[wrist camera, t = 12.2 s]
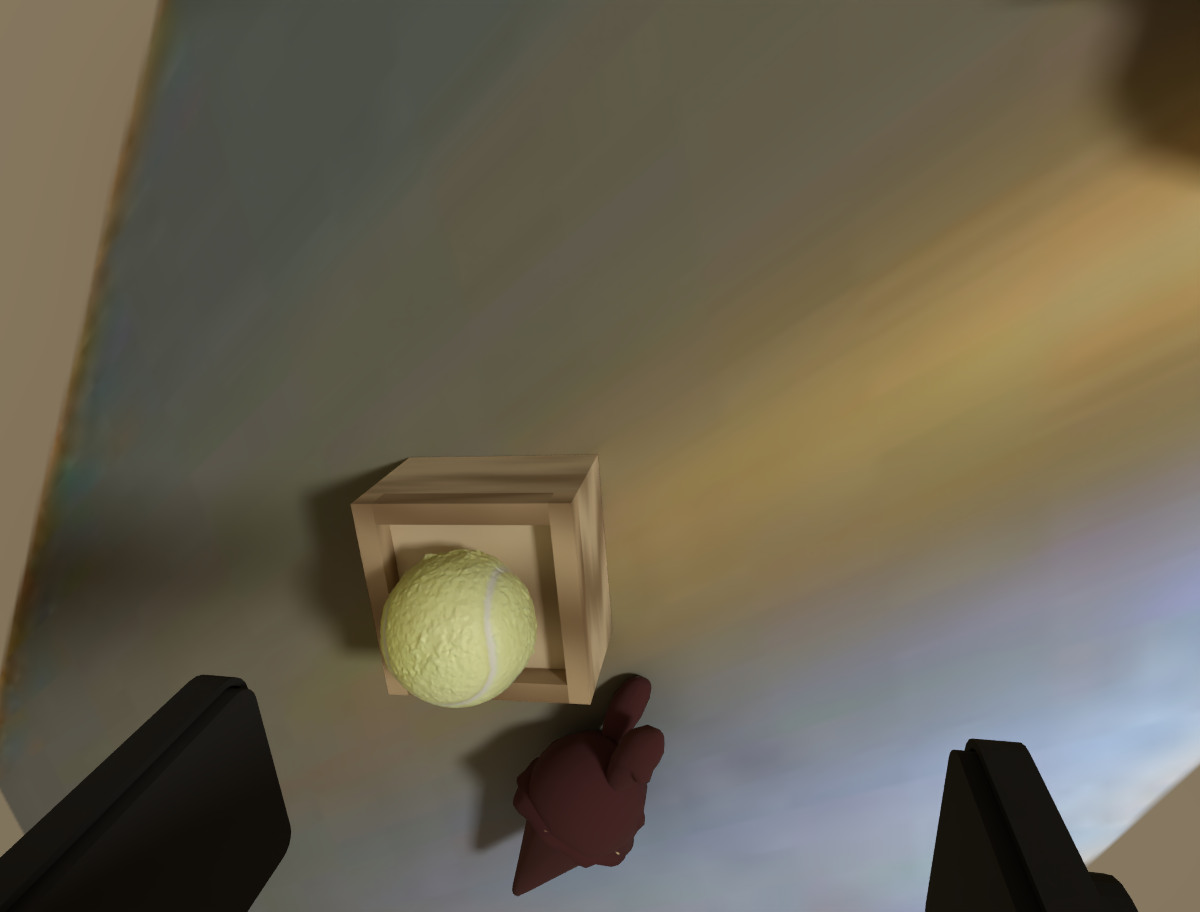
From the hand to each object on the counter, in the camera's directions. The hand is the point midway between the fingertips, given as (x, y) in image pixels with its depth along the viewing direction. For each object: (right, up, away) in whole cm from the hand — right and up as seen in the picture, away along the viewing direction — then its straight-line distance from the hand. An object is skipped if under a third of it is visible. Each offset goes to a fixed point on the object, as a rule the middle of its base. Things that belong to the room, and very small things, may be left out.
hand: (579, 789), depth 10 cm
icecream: (0, -13, +33) cm, 35 cm away
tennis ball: (-5, -2, +24) cm, 25 cm away
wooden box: (-4, 0, +29) cm, 29 cm away
